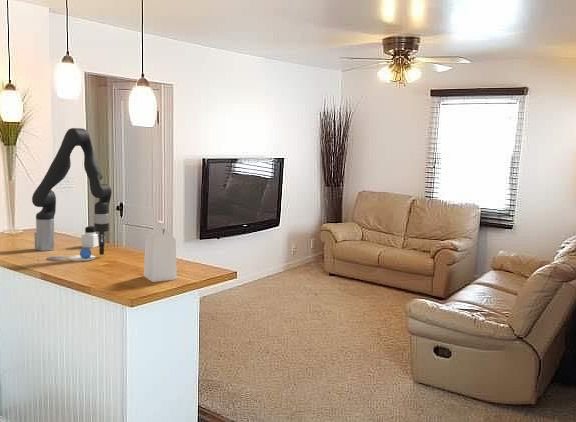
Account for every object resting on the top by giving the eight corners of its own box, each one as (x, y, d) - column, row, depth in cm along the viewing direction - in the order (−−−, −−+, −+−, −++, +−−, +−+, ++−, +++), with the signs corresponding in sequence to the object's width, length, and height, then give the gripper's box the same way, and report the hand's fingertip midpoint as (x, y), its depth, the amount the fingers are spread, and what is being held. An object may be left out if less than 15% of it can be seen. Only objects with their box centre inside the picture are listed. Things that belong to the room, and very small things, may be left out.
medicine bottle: (98, 246, 325) (98, 225, 324) (93, 248, 318) (93, 227, 317) (87, 245, 326) (87, 225, 325) (81, 247, 319) (81, 226, 318)
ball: (87, 244, 288) (95, 251, 291) (79, 247, 290) (87, 253, 294) (83, 252, 284) (91, 259, 287) (76, 255, 287) (83, 262, 290)
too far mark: (42, 259, 282) (42, 259, 282) (53, 256, 292) (53, 255, 292) (60, 261, 281) (60, 260, 281) (71, 257, 291) (71, 257, 291)
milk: (177, 279, 252) (177, 222, 250) (152, 281, 246) (153, 223, 243) (167, 273, 262) (168, 219, 259) (143, 276, 256) (144, 220, 253)
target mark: (61, 259, 285) (61, 259, 285) (76, 254, 299) (76, 254, 299) (87, 261, 283) (87, 261, 283) (100, 256, 296) (100, 255, 296)
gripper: (93, 220, 297) (93, 252, 299) (94, 224, 285) (94, 257, 287) (108, 220, 300) (108, 251, 302) (109, 223, 287) (109, 256, 289)
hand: (101, 254), depth 294 cm, fingers closed
